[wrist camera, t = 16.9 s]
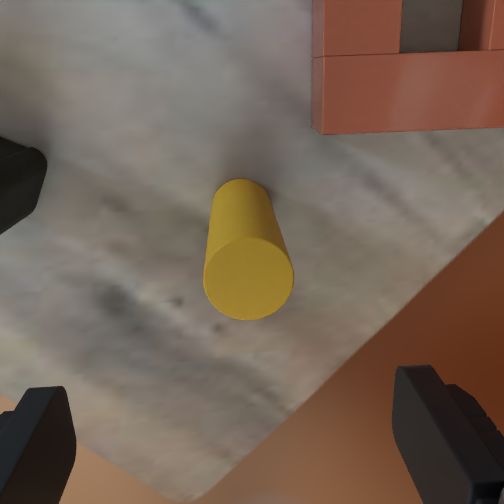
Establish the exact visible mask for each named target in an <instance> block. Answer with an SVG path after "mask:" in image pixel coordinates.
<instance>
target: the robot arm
mask: <svg viewBox="0 0 504 504" xmlns="http://www.w3.org/2000/svg"><path fill="white" fill-rule="evenodd" d="M392 428H393V434H394V438H395V442H396V444H397V447H398V449H399V451H400V453H401V456H402V458H403V460H404V462H405V464H406V466H407V469H408V471H409V473H410V475H411V477H412V479H413V482H414V484H415V486H416V488H417V491H418V493H419V495H420V497H421V499H422V502H423V504H504V436H503V435H502V434H501V432H500V431H499V430H498V431H497V429H496V426H495V424H494V423H493V422H492V421H491V419H490V418H489V417H487V416H486V413H485V411H484V410H483V409H482V407H481V406H480V405H479V403H478V402H477V401H476V400H475V398H474V397H473V396H471V395H470V394H468V393H467V392H466V391H464V390H462V389H461V388H460V387H458V386H457V385H455V384H449V385H445V384H444V383H443V381H442V380H441V378H440V377H439V376H438V374H437V373H436V371H435V370H434V368H433V367H432V366H431V365H429V364H428V365H411V366H398V368H397V369H396V373H395V386H394V398H393V409H392ZM75 456H76V435H75V430H74V426H73V421H72V416H71V411H70V407H69V402H68V397H67V393H66V390H65V388H64V387H63V386H54V387H37V388H29V389H28V390H27V391H26V392H25V394H24V395H23V397H22V398H21V400H20V402H19V403H18V405H17V406H16V408H15V410H14V411H4V412H3V413H2V414H1V415H0V504H59V501H60V499H61V496H62V494H63V491H64V489H65V486H66V483H67V480H68V478H69V476H70V473H71V470H72V468H73V465H74V461H75Z"/></svg>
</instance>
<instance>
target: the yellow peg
mask: <svg viewBox="0 0 504 504" xmlns="http://www.w3.org/2000/svg"><path fill="white" fill-rule="evenodd" d="M203 284H204V289H205V292H206V294H207V297H208V298H209V300H210V302H211V303H212V304H213V305H214V306H215V307H216V308H217V309H218V310H219V311H221V312H222V313H223V314H225V315H227V316H229V317H232V318H235V319H240V320H256V319H260V318H264V317H266V316H269V315H271V314H273V313H274V312H276V311H277V310H278V309H279V308H280V307H282V305H283V304H284V303H285V302H286V301H287V299H288V298H289V296H290V294H291V291H292V288H293V284H294V271H293V267H292V264H291V261H290V258H289V255H288V252H287V249H286V246H285V243H284V240H283V237H282V234H281V231H280V228H279V225H278V222H277V220H276V217H275V214H274V211H273V208H272V205H271V202H270V199H269V196H268V194H267V192H266V191H265V190H264V189H263V188H262V186H260V185H259V184H257V183H256V182H254V181H251V180H248V179H235V180H232V181H229V182H227V183H225V184H224V185H222V186H221V187H220V188H219V189H218V191H217V192H216V194H215V196H214V198H213V202H212V209H211V217H210V225H209V233H208V241H207V250H206V258H205V266H204V274H203Z"/></svg>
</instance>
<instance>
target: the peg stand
mask: <svg viewBox="0 0 504 504" xmlns="http://www.w3.org/2000/svg"><path fill="white" fill-rule="evenodd" d="M402 3H403V0H312V58H313V59H312V100H311V128H312V129H314V130H316V131H317V132H319V133H321V134H322V135H332V134H356V133H380V132H404V131H428V130H452V129H476V128H500V127H504V0H463V10H462V19H461V29H460V38H459V48H458V51H451V52H424V53H399V49H400V33H401V18H402Z"/></svg>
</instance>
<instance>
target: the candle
mask: <svg viewBox="0 0 504 504" xmlns="http://www.w3.org/2000/svg"><path fill="white" fill-rule="evenodd" d="M46 170H47V162H46V159H45V157H44V156H43V154H42V153H41V152H40V151H39V150H37V149H35V148H33V147H31V148H26V147H24V146H21V145H19V144H16V143H14V142H12V141H9V140H7V139H4V138H2V137H0V235H1V234H2V233H3V232H5V231H6V230H8V229H9V228H11V227H12V226H13V225H15V224H16V223H18V222H19V221H21V220H22V219H24V218H25V217H26V216H28V215H29V214H31V213H32V212H33V211H34V209H35V207H36V204H37V200H38V197H39V194H40V190H41V187H42V184H43V180H44V177H45V174H46Z"/></svg>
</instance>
